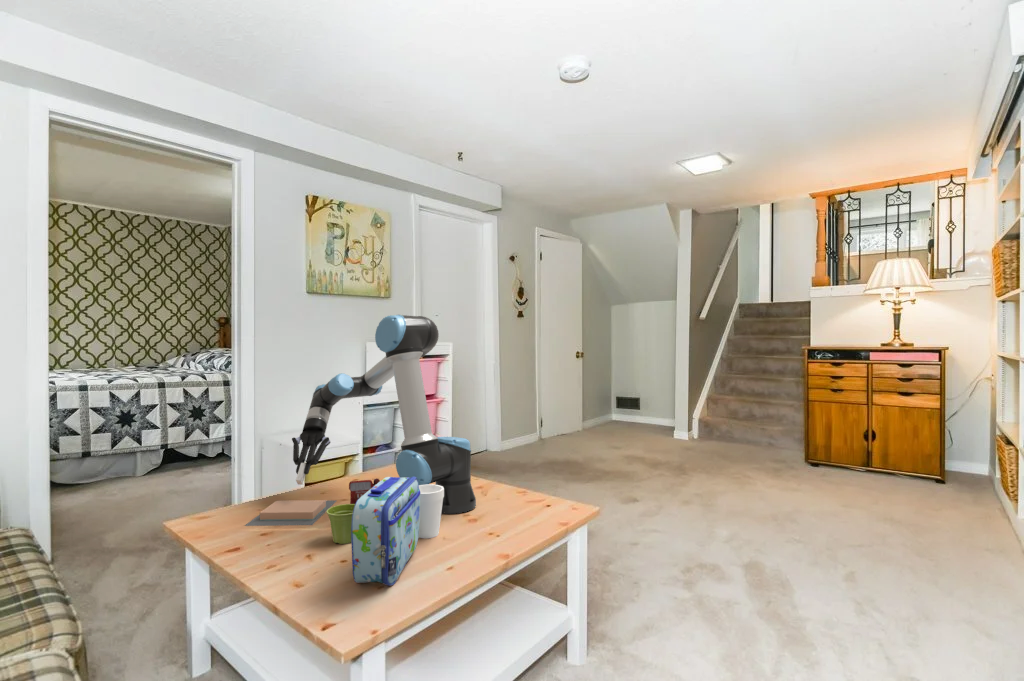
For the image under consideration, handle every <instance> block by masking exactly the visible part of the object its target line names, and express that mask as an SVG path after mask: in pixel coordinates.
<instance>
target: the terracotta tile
mask: <svg viewBox="0 0 1024 681" xmlns="http://www.w3.org/2000/svg"><path fill="white" fill-rule="evenodd" d="M326 501H327V500H326V499H324V500H323V499H317V500H315V499H314V500H311V499H310V500H309V499H308V500H304V499H303V500H300V499H299V500H297V499H296V500H294V499H293V500H276V501H274V502H273V503H271V504H270V505H269V506H267V507H266V508H264V509H263V510H262V511H260V512H259V515H260V521H263V520H313V519H314V518H315V517H316V516H317V515H319V514H320V513H321V512H322V511H323V510H324V509H325V508H326Z"/></svg>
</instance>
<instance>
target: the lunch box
mask: <svg viewBox="0 0 1024 681" xmlns="http://www.w3.org/2000/svg"><path fill="white" fill-rule="evenodd" d="M419 516H420V489H419V485H418V480H417V477H411V478H409V477H402V478H400V477H399V476H398V477H397V476H394V477H393V476H386V477H384V478H383V479H381V480H380V482H378V483H377V484H376V485H375V486H373V487H372V488H371V489H370V490H369V491H367V492H366V493H365V494H364V495H363V496H361V497H360V498H359V499H358V500H357V502H356V504H355V506H354V510H353V515H352V526H351V542H350V543H351V561H352V562H351V565H352V568H351V569H352V576H353V581H354V582H355V583H358V584H359V583H367V584H368V583H377V582H378V583H380V584H383V585H385V586H388V587H389V586H393V585H395V584H396V583H397V581H398V579H399V577H400V575H401V573H402V571H403V570H404V568H405V566H406V564H407V563H408V561H409V559H410V558H411V557H412V555H413V554H414V552H415V550H416V548H417V544H418V541H419V537H418V536H419Z"/></svg>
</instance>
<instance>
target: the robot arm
mask: <svg viewBox="0 0 1024 681" xmlns="http://www.w3.org/2000/svg"><path fill="white" fill-rule="evenodd" d="M374 336H375V337H374V340H375V344H376V347H377V348H378V349H379V350H380V351H381V352H383V353H385V356H384V357H383V358H382V359H381V360H379V362H377V363H376V364H375V365H374V366H372V367H371V368H370V369H369V370H367V371H366V372H365V373H364V374H363V375H361V376H350V375H348V374H346V373H338V374H336V375H335V376H333V377H331V379H330V380H329V381H328V382H327V383H326V384H324V383H323V384H319V385H318V386H316V388H315V390H314V392H313V393H312V399H311V402H310V405H309V408H308V411H307V414H306V418H305V421H304V423H303V428H302V432H301V433H300V434H299V436H297V437H292V438H291V441H292V443H293V447H292V448H293V450H292V461H293V463H294V464H295V466H296V468H295V472H296V474H297V475H296V479H295V482H296V483H297V484H296V485H298V486H299V485H304V481H305V478H306V475H308V474H309V473H310V470H311V467H312V466H316V465H317V464H318V462H319V461H320V459H321V457H322V456H323V454H324V452H325V450H326V449H327V447H328V446H329V445H330V444H331V440H330V438H329V436H326V431H327V426H328V423H329V420H330V417H331V412H332V409H333V406H335V405H336V404H337V403H339V402H340V401H341V400H344V399H351V398H353V399H354V398H360V397H373V396H375V395H376V396H377V395H379V394H380V393H381V392H382V391H381V390H382V389H383V385H384V384H386V383H387V382H388V381H390V380H391V379H392V378H393V377H394V381H395V387H396V394H397V400H398V406H399V412H400V418H401V419H400V420H401V424H402V431H403V436H404V439H403V441H402V442H401V444H400V449H401V451H400V452H399V453H398V454H397V457H396V458H397V459H396V460H395V469H396V472H397V475H398V477H400V478H402V477H409V478H411V477H417V480H418V485H426V484H434V485H440V486H443V488H444V497H443V503H442V512H441V514H446V515H448V514H449V515H450V514H451V515H452V514H453V515H455V514H456V513H457V514H462V512H464V513H467V511H468V512H470V511H469V510H471V511H473V510H474V509H475V508H476V507H477V498H476V496H475V492H474V489H473V486H472V480H471V475H472V474H471V472H472V471H471V470H472V469H471V467H472V465H471V461H472V459H471V458H472V456H471V455H472V450H471V442H470V440H469V439H467V438H464V437H457V436H436V435H435V434H434V433H433V432H432V425H431V419H430V412H429V409H428V402H427V397H426V391H425V384H424V380H423V374H422V369H421V363H420V359H421V358H423V357H425V356H426V355H427V354H429V353H430V352H431V351H432V350H433V349H434V348H435V347H436V345H437V343H438V341H439V337H440V336H439V330H438V326H437V324H435V322H434V321H433V320H432V319H431V318H430V317H427V316H422V315H418V316H417V315H407V314H406V315H403V314H402V315H401V314H394V315H391V314H390V315H387V316H385V317H383V318H382V319H381V320H380V321H379V322H378V325H377V326H376V329H375V335H374ZM301 442H302V448H301V451H300V444H301ZM318 445H319V446H318ZM475 506H476V507H475ZM473 508H474V509H473ZM472 509H473V510H472Z"/></svg>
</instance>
